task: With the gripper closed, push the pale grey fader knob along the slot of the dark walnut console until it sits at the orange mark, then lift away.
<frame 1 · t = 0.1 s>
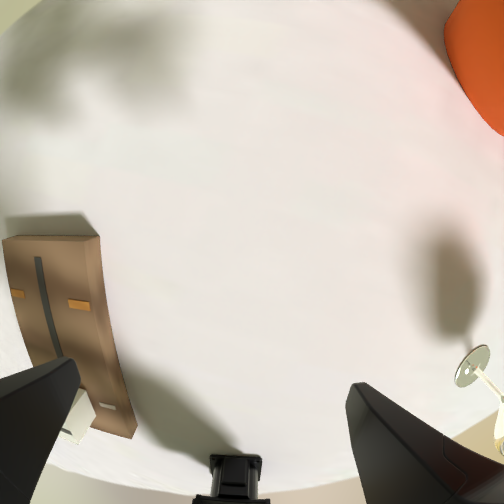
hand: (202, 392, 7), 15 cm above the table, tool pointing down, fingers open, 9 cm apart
flowerpot: (492, 73, 16), on the table
fader knob: (63, 411, 20), point 5 cm above the table, slide at -6.0 cm
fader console: (71, 341, 24), on the table
wineglass: (472, 365, 25), on the table
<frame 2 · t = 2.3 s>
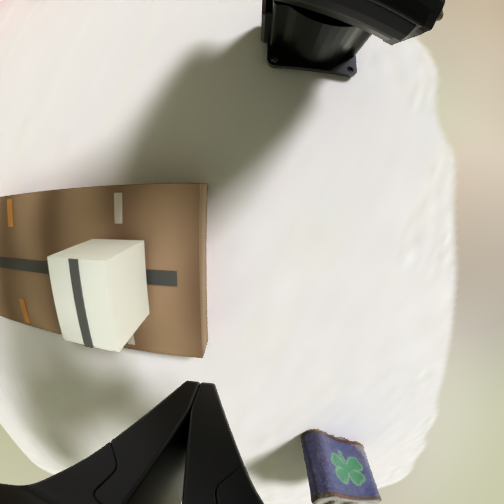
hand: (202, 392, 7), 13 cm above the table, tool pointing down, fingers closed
flask: (332, 441, 25), on the table
fader knob: (101, 289, 15), point 5 cm above the table, slide at -6.0 cm
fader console: (76, 260, 20), on the table
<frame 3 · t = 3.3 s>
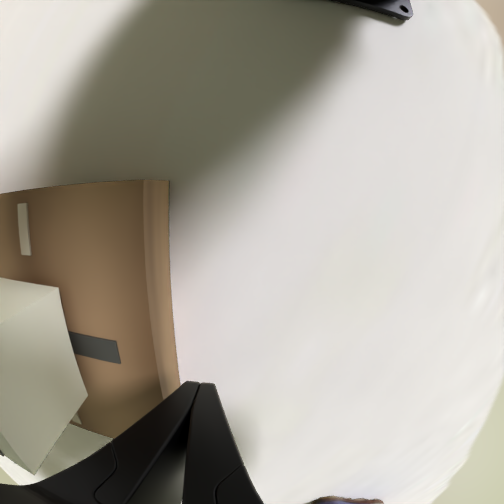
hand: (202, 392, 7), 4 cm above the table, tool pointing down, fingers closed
flask: (348, 502, 16), on the table
fader knob: (3, 368, 6), point 5 cm above the table, slide at -6.0 cm
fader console: (5, 296, 11), on the table
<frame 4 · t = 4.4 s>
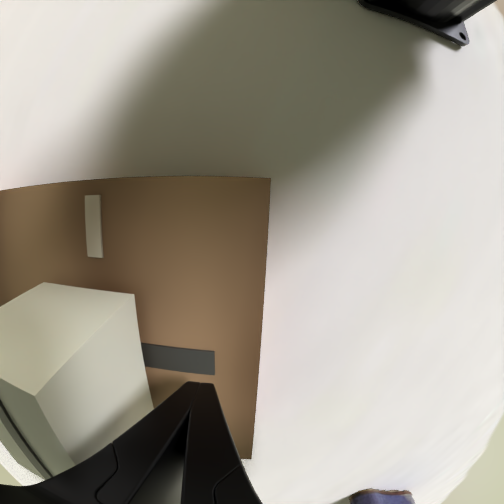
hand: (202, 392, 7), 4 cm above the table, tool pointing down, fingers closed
flask: (380, 494, 16), on the table
fader knob: (61, 391, 6), point 5 cm above the table, slide at -5.5 cm, touching gripper
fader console: (41, 302, 11), on the table
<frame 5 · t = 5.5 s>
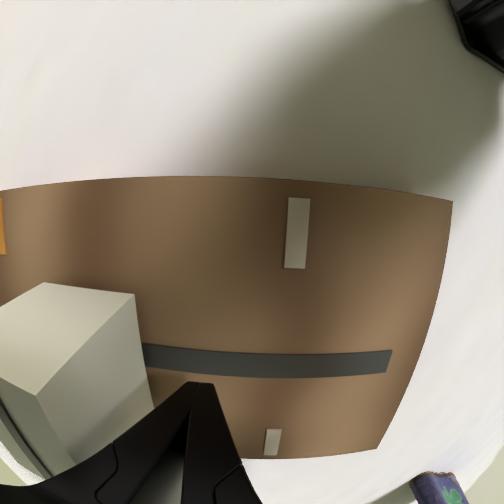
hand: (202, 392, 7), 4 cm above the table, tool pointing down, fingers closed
flask: (431, 477, 16), on the table
fader knob: (61, 391, 6), point 5 cm above the table, slide at 0.8 cm, touching gripper
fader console: (140, 320, 11), on the table
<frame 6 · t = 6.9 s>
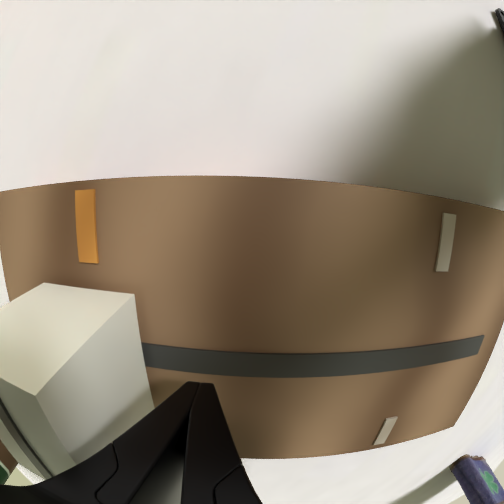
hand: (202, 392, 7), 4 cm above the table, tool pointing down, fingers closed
flask: (466, 461, 16), on the table
fader knob: (62, 391, 6), point 5 cm above the table, slide at 6.1 cm, touching gripper
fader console: (263, 329, 11), on the table
beer bottle: (3, 430, 16), on the table
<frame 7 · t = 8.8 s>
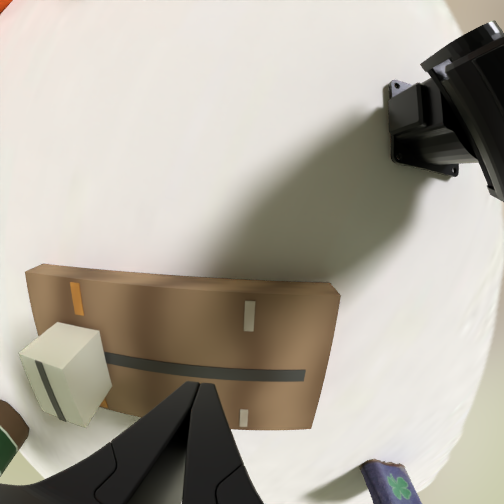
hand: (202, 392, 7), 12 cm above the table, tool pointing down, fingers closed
flask: (381, 466, 25), on the table
fader knob: (67, 373, 14), point 5 cm above the table, slide at 6.2 cm
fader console: (168, 348, 20), on the table
beer bottle: (13, 416, 24), on the table
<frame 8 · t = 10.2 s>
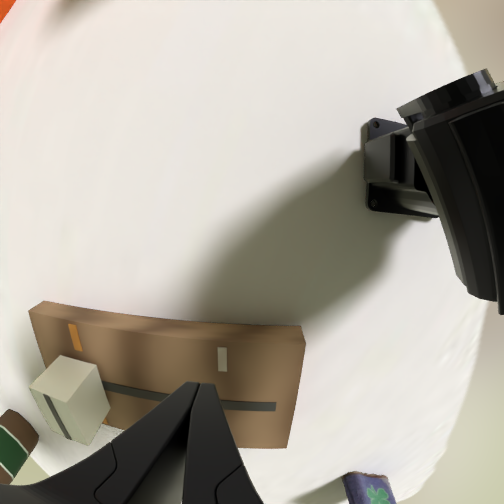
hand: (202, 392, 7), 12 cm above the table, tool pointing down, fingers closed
flask: (364, 477, 26), on the table
fader knob: (71, 400, 16), point 5 cm above the table, slide at 6.2 cm
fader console: (158, 377, 21), on the table
beer bottle: (24, 424, 26), on the table
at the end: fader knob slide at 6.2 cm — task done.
